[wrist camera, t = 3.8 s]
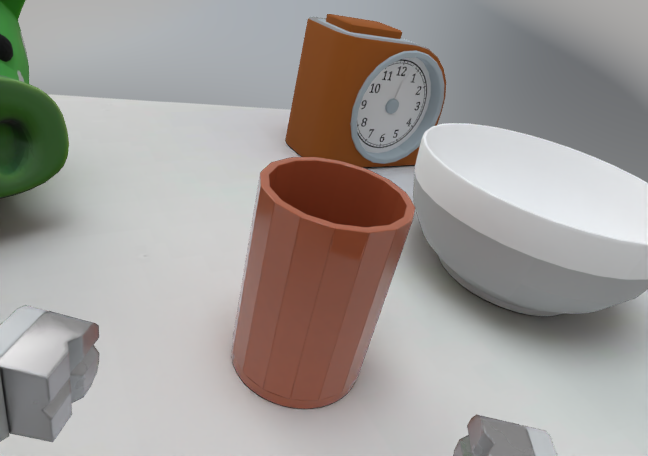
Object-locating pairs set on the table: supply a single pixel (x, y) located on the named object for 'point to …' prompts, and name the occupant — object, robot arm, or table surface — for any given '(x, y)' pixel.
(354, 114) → the alarm clock
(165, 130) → the table surface
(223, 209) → the table surface
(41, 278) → the table surface
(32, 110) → the piggy bank
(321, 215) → the cup
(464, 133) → the bowl
